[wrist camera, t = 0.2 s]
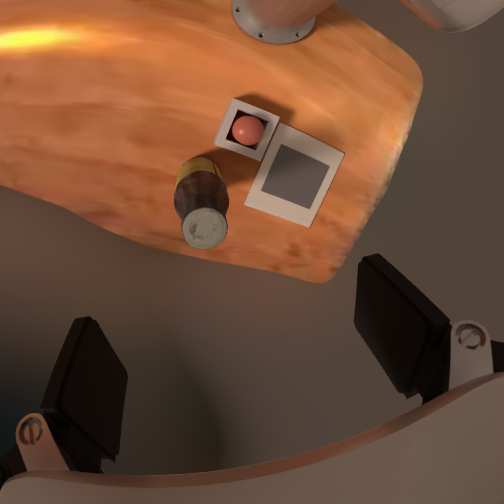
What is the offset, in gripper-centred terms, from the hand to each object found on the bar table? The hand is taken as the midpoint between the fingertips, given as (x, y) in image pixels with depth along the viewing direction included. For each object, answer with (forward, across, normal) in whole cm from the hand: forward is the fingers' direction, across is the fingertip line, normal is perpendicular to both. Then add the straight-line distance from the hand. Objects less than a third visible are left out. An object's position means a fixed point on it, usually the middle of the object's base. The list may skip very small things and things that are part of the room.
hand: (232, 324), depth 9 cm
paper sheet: (+35, -14, +5) cm, 38 cm away
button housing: (+35, -6, -4) cm, 36 cm away
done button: (+34, -6, -4) cm, 35 cm away
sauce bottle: (+36, +1, +2) cm, 36 cm away
